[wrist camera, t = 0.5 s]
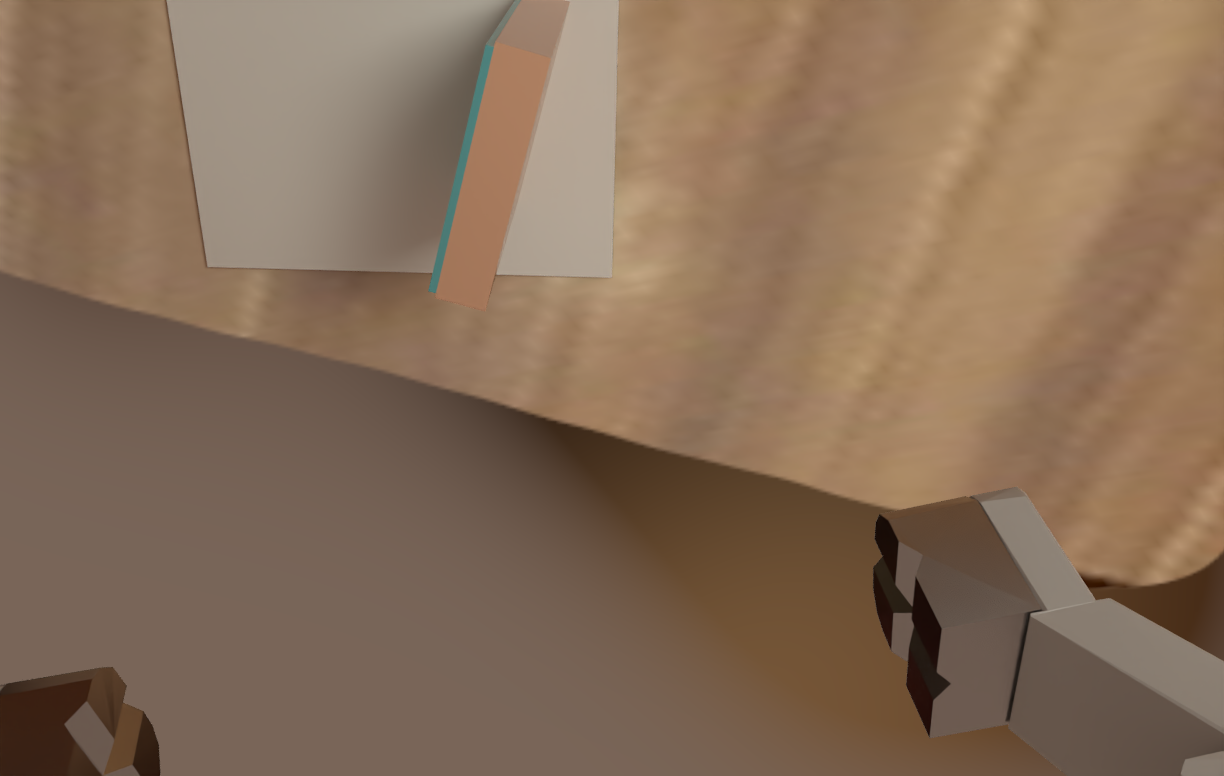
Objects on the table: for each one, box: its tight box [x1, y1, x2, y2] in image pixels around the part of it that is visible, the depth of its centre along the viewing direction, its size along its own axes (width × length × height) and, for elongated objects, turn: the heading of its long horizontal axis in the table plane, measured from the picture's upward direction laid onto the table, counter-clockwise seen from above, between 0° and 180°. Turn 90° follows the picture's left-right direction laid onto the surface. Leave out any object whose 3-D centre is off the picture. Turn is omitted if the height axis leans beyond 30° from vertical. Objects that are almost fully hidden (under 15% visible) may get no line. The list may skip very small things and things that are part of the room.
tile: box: [429, 0, 570, 311], centre depth 47 cm, size 2×10×14 cm, turn 164°
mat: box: [167, 0, 619, 278], centre depth 53 cm, size 18×21×1 cm
